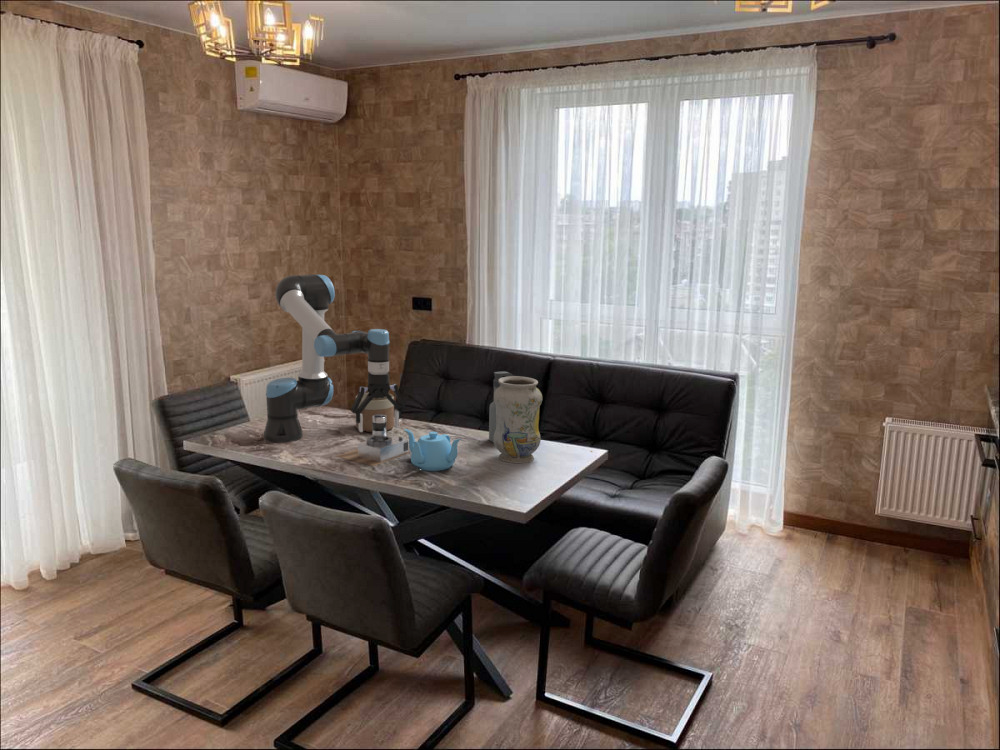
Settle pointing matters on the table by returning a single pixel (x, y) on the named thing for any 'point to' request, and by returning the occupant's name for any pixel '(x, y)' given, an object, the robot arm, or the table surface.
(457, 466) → the table surface
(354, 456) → the board
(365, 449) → the camera body
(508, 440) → the vase
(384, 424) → the lens
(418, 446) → the teapot
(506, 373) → the water bottle
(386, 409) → the planter
